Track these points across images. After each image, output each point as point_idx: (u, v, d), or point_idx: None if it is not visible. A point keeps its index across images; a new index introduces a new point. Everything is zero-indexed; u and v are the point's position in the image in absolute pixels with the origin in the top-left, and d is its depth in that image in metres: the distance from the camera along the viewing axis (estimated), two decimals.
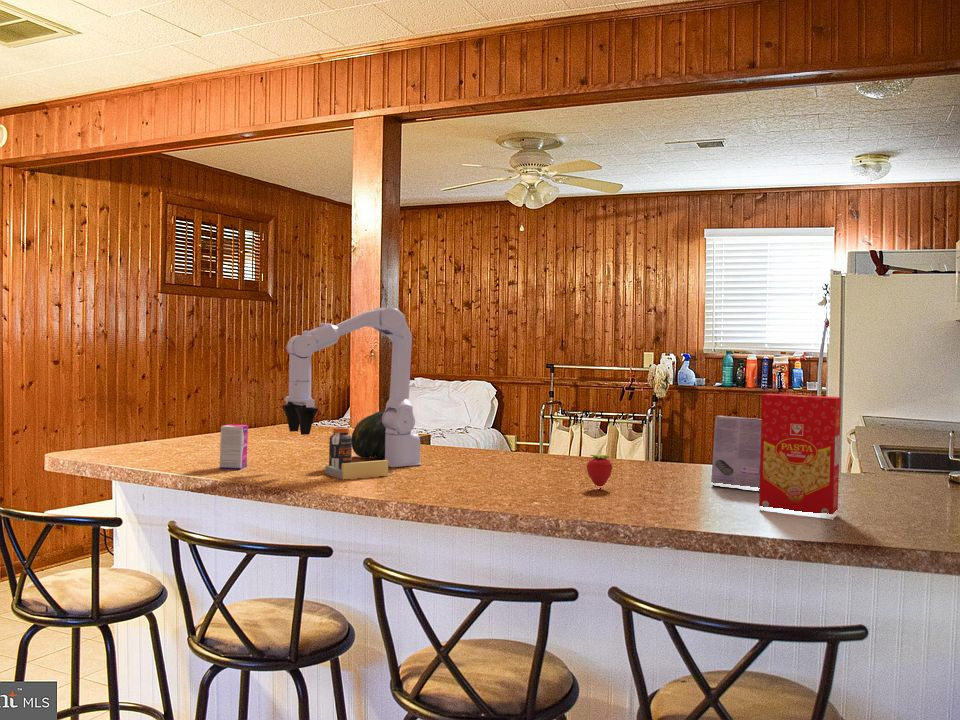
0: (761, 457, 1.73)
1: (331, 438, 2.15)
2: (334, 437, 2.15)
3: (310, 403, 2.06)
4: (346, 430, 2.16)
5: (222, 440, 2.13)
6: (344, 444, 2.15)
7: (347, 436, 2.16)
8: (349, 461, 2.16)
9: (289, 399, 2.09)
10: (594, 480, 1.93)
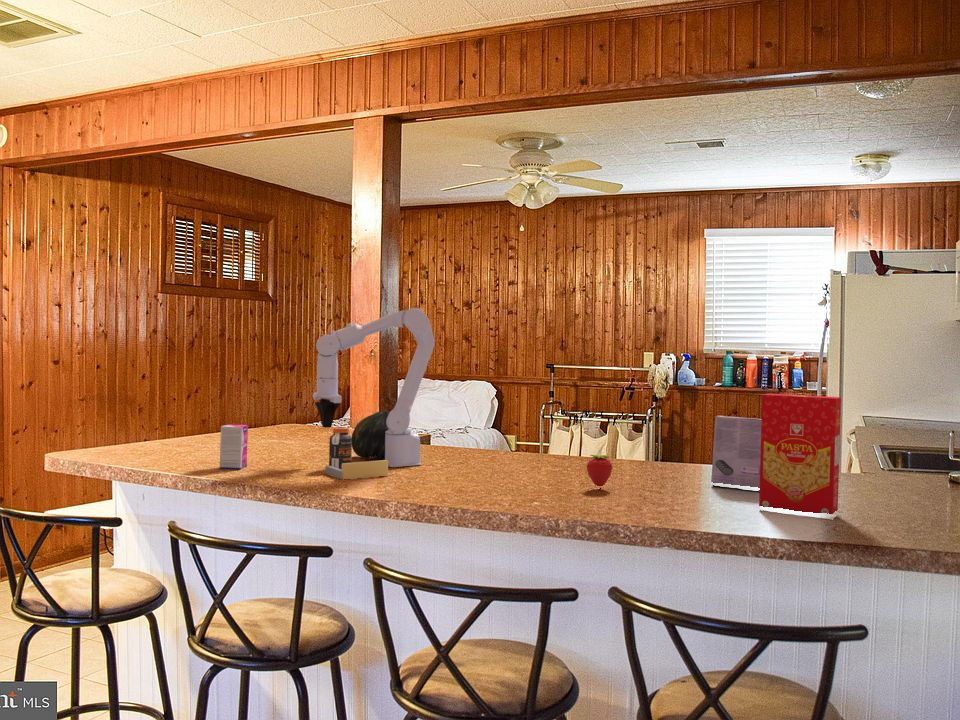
0: (761, 457, 1.73)
1: (331, 438, 2.15)
2: (334, 437, 2.15)
3: (338, 399, 2.18)
4: (346, 430, 2.16)
5: (222, 440, 2.13)
6: (344, 444, 2.15)
7: (347, 436, 2.16)
8: (349, 461, 2.16)
9: (317, 395, 2.22)
10: (594, 480, 1.93)
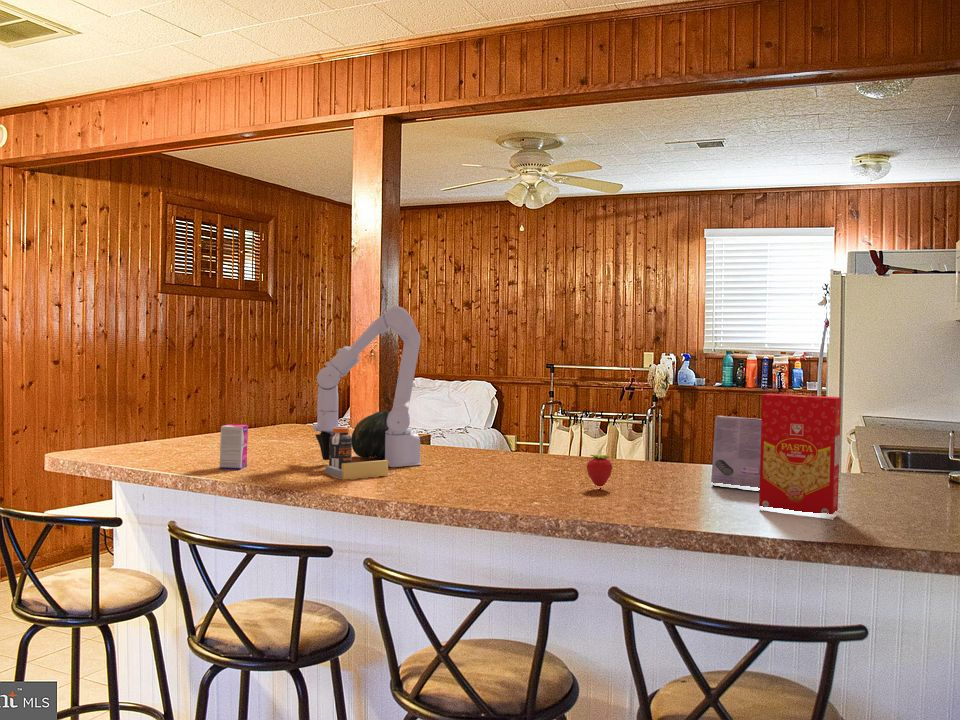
0: (761, 457, 1.73)
1: (331, 438, 2.15)
2: (334, 437, 2.15)
3: None
4: (346, 430, 2.16)
5: (222, 440, 2.13)
6: (344, 444, 2.15)
7: (347, 436, 2.16)
8: (349, 461, 2.16)
9: (318, 428, 2.21)
10: (594, 480, 1.93)
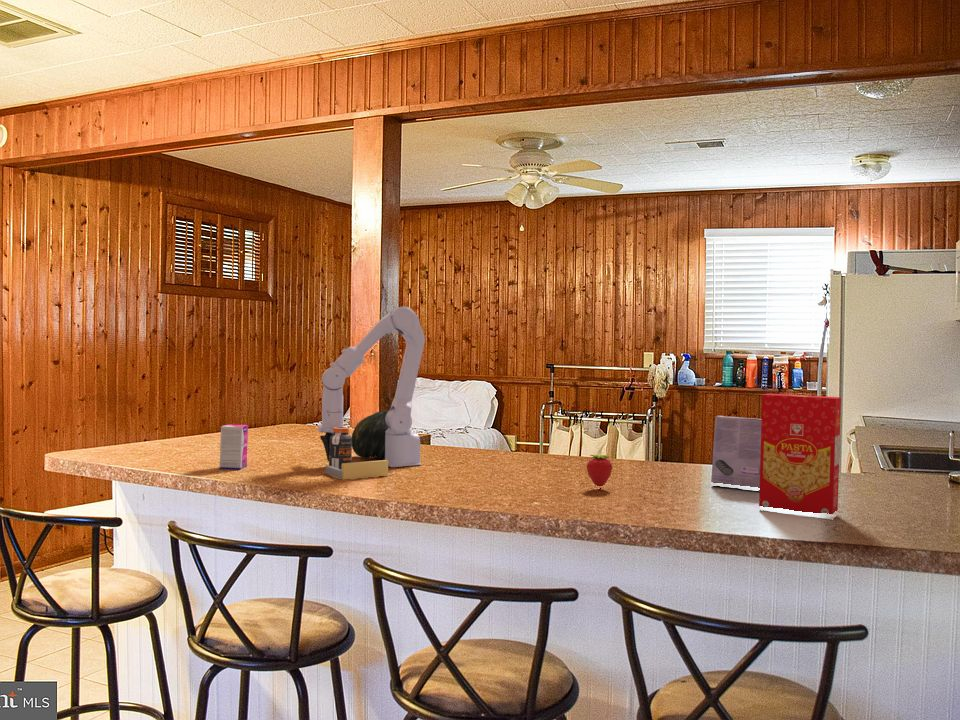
0: (761, 457, 1.73)
1: (331, 438, 2.15)
2: (334, 437, 2.15)
3: None
4: (346, 430, 2.16)
5: (222, 440, 2.13)
6: (344, 444, 2.15)
7: (347, 436, 2.16)
8: (349, 461, 2.16)
9: (322, 429, 2.19)
10: (594, 480, 1.93)
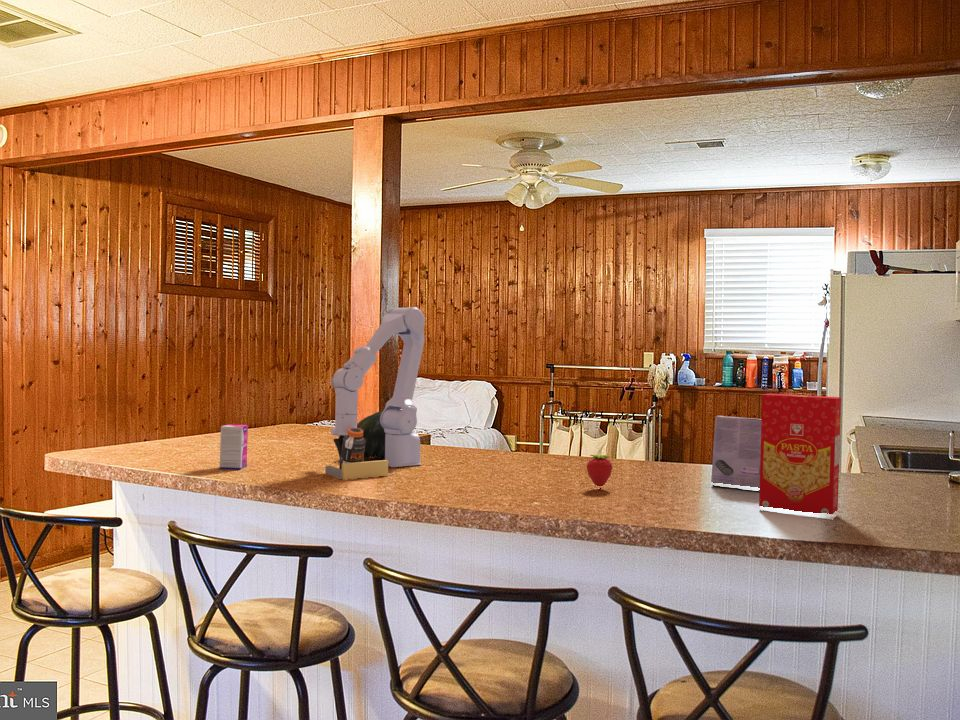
0: (761, 457, 1.73)
1: (344, 441, 2.08)
2: (348, 441, 2.07)
3: None
4: (361, 434, 2.08)
5: (222, 440, 2.13)
6: (357, 449, 2.07)
7: (361, 441, 2.08)
8: None
9: (336, 432, 2.11)
10: (594, 480, 1.93)
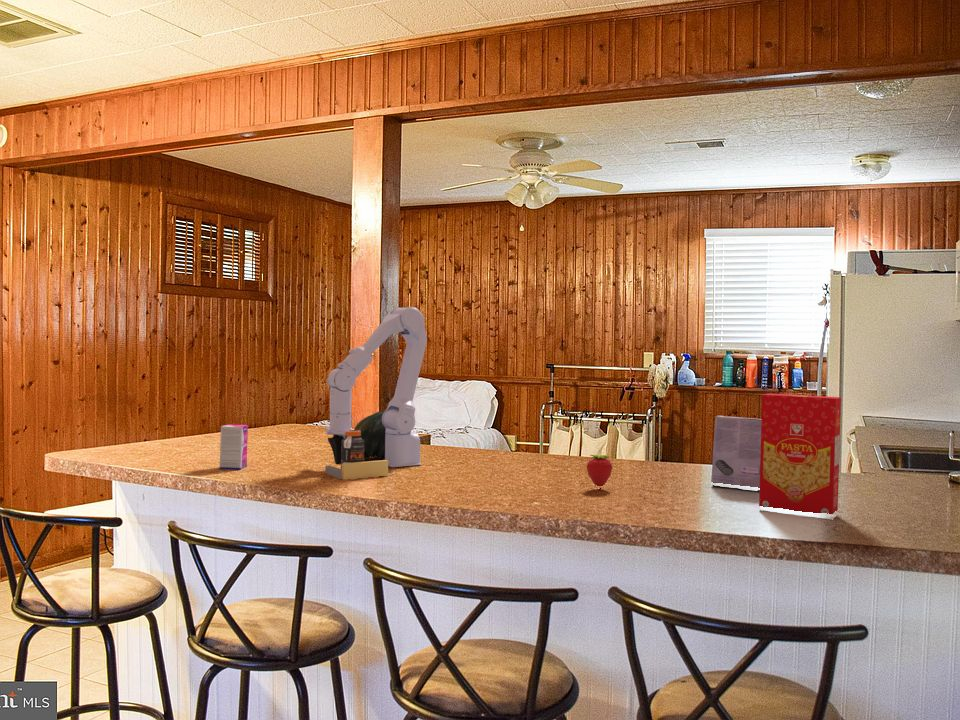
0: (761, 457, 1.73)
1: (343, 441, 2.09)
2: (346, 440, 2.08)
3: None
4: (358, 433, 2.10)
5: (222, 440, 2.13)
6: (356, 447, 2.08)
7: (359, 439, 2.09)
8: None
9: (330, 431, 2.15)
10: (594, 480, 1.93)
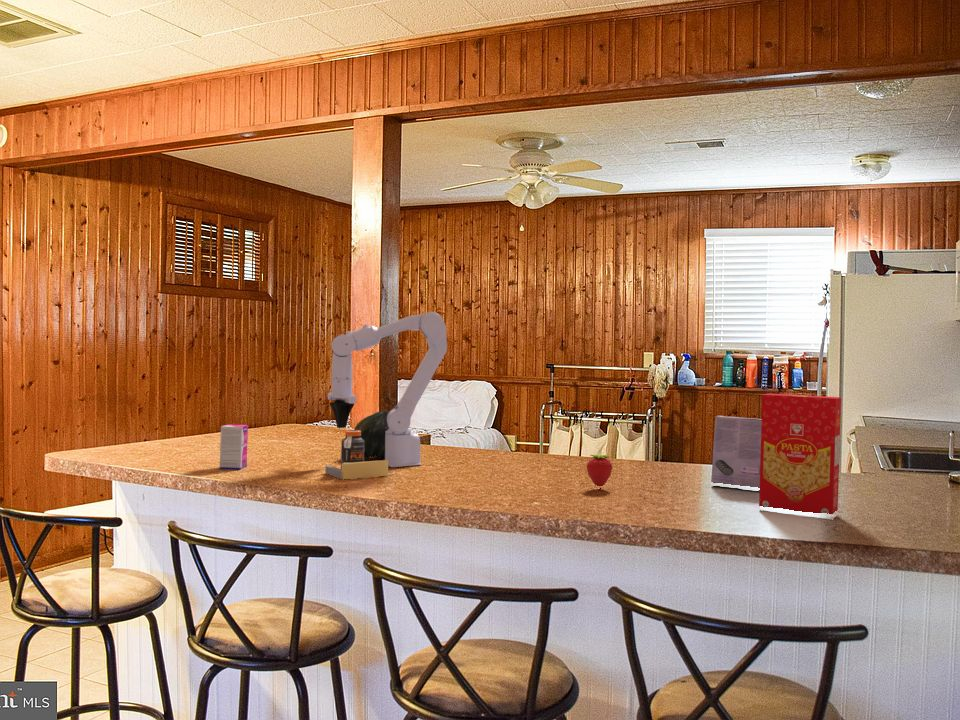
0: (761, 457, 1.73)
1: (343, 441, 2.09)
2: (346, 440, 2.08)
3: (353, 400, 2.17)
4: (358, 433, 2.10)
5: (222, 440, 2.13)
6: (356, 447, 2.08)
7: (359, 439, 2.09)
8: None
9: (332, 395, 2.21)
10: (594, 480, 1.93)
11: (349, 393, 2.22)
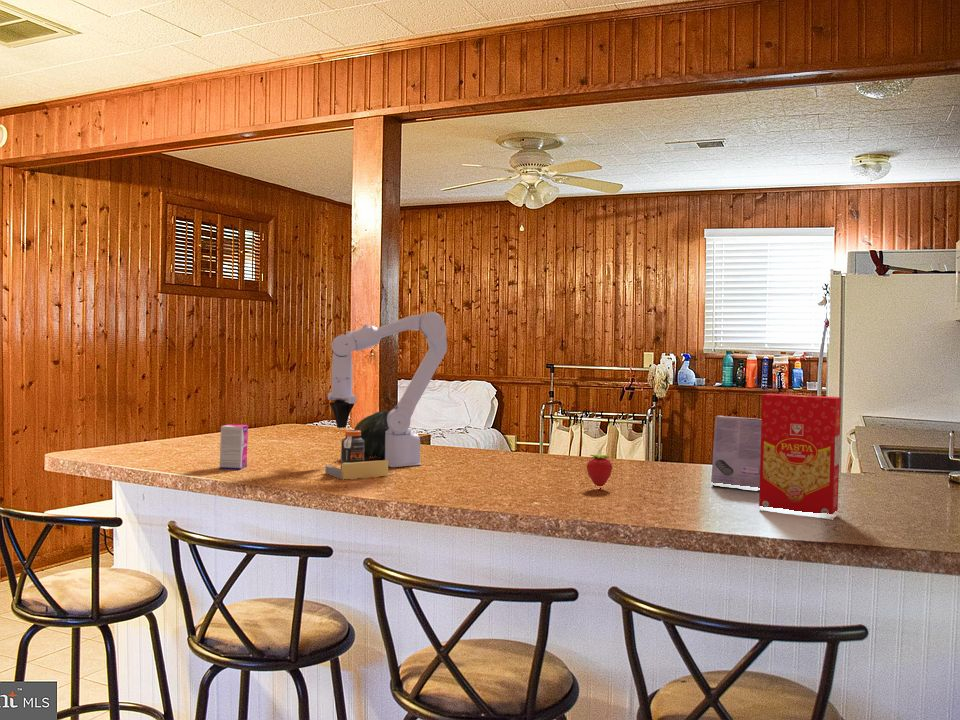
0: (761, 457, 1.73)
1: (343, 441, 2.09)
2: (346, 440, 2.08)
3: (353, 400, 2.17)
4: (358, 433, 2.09)
5: (222, 440, 2.13)
6: (356, 447, 2.08)
7: (359, 439, 2.09)
8: None
9: (332, 395, 2.21)
10: (594, 480, 1.93)
11: (349, 393, 2.22)
